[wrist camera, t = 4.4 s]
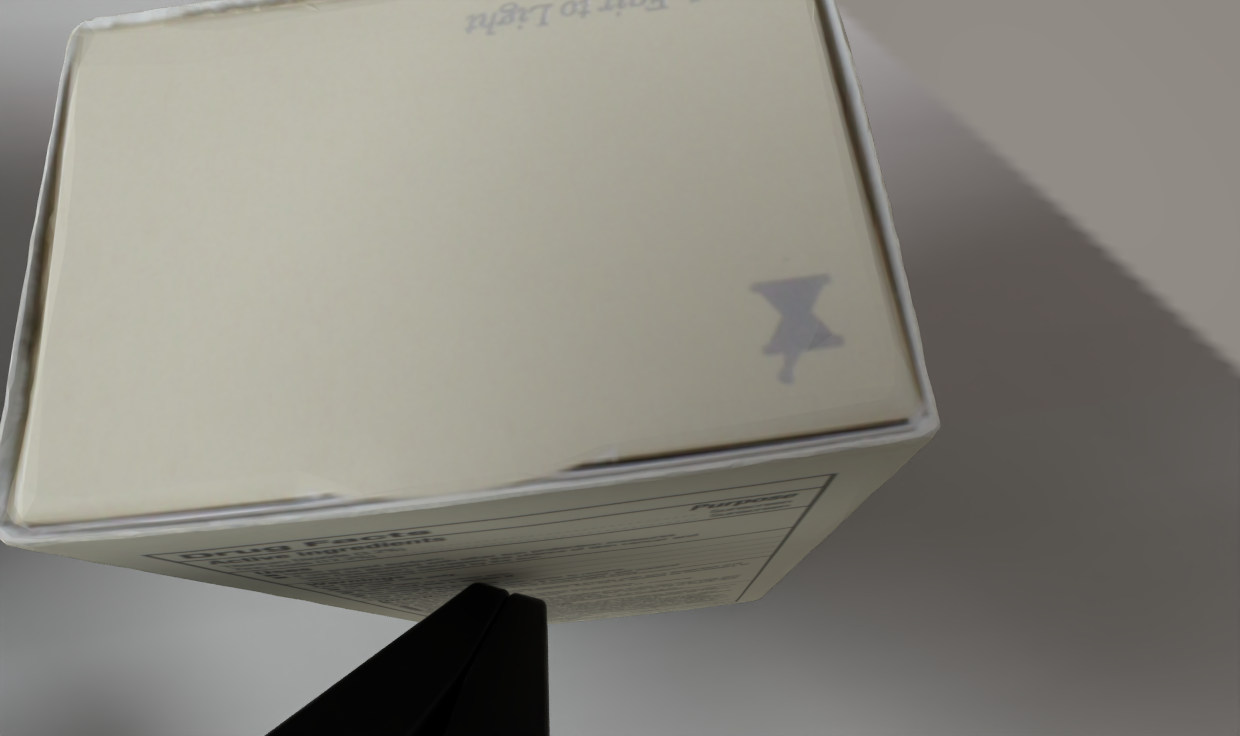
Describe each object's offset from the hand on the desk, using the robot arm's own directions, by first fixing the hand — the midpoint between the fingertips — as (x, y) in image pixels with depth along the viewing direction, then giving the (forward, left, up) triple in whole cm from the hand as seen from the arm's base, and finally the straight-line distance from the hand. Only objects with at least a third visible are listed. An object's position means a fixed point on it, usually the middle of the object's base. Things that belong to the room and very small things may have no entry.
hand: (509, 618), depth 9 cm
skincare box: (+2, -1, -8) cm, 8 cm away
